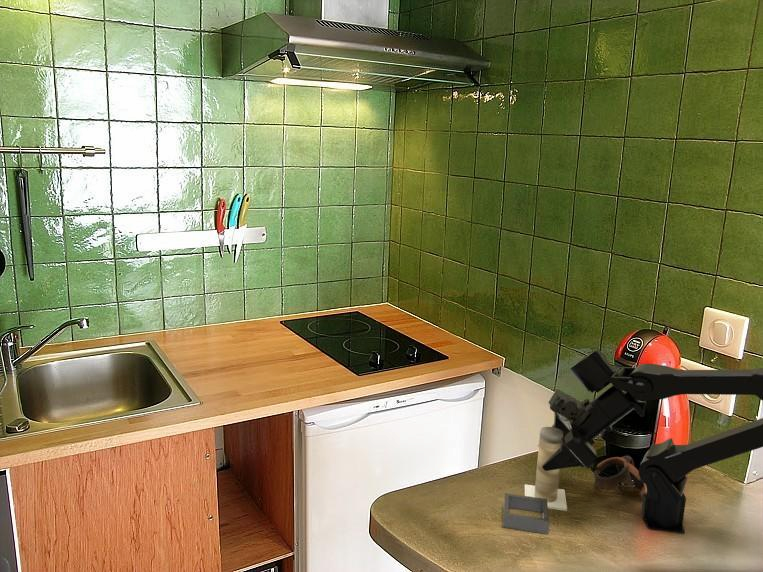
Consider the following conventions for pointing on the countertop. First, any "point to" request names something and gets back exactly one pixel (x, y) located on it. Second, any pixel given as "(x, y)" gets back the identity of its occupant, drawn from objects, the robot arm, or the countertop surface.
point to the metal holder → (526, 521)
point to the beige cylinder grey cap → (547, 447)
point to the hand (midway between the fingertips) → (541, 457)
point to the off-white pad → (558, 504)
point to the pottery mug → (619, 475)
